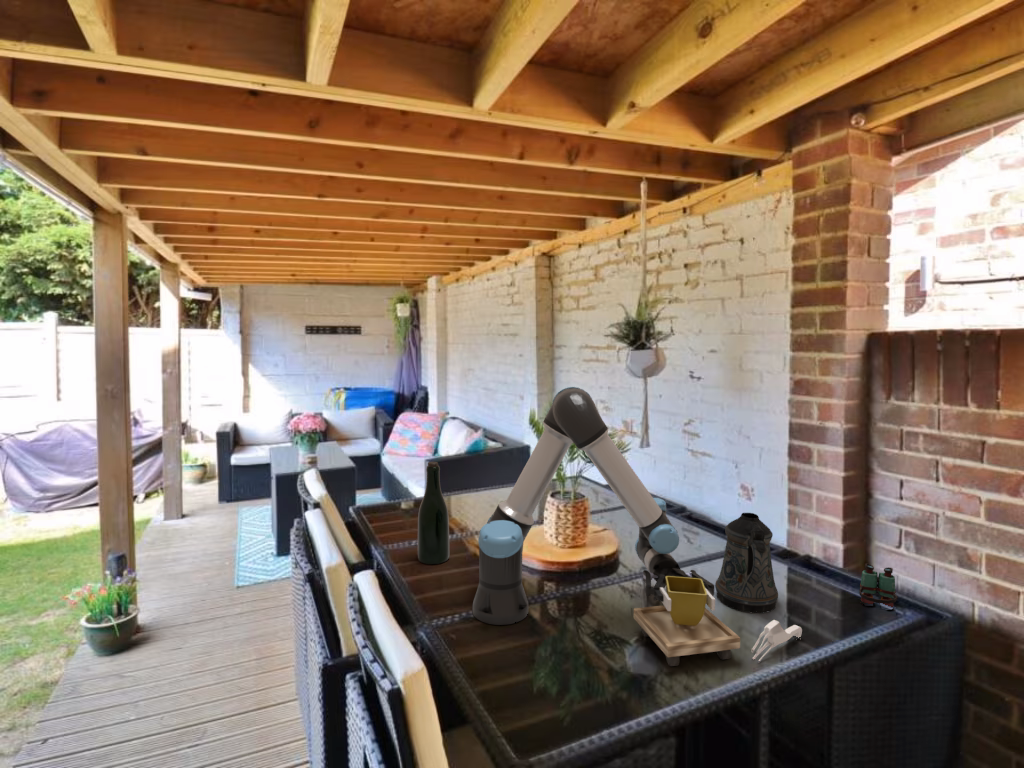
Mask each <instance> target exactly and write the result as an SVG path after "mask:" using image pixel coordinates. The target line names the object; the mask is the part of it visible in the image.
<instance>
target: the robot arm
mask: <svg viewBox="0 0 1024 768" xmlns="http://www.w3.org/2000/svg"><path fill="white" fill-rule="evenodd" d="M542 425H543V428H544V431H543V432H542V434H541V436H540V438H539V440H538V441H537V443H536V445H535V447H534V449H533V450H532V452H531V454H530V456H529V458H528V460H527V462H526V464H525V466H524V467H523V469H522V471H521V473H520V474H519V476H518V478H517V481H516V482H515V484H514V486H513V488H512V489H511V491H510V493H509V495H508V497H507V498H506V500H503V501H500V502H499V503H498V504H497V506H496V508H495V510H494V512H493V514H491V516H490V517H489V518H488V519H487V522H486V523H484V525H483V526H482V527H481V528H480V531H479V535H478V547H479V549H478V550H479V551H478V557H479V559H478V563H479V565H478V566H479V567H478V570H479V571H478V575H479V576H478V578H479V581H478V586H477V589H476V593H475V595H474V598H473V602H472V614H473V616H474V618H475V619H477V620H478V621H480V622H482V623H484V624H489V625H494V626H495V625H496V626H500V625H501V626H503V625H504V626H505V625H513V624H515V622H516V623H518V622H521V621H523V620H524V619H525V618H526V617H527V616H528V615H527V614H529V601H528V598H527V595H526V591H525V589H524V584H523V553H524V552H523V549H524V541H525V540H526V538H527V536H528V534H529V532H530V531H531V528H532V527H533V525H534V522H535V521H534V517H533V515H534V512H535V510H536V509H537V507H538V505H539V503H540V502H541V499H542V498H543V496H544V495H545V492H546V491H547V488H548V487H549V485H550V483H551V481H552V480H553V478H554V476H555V474H556V472H557V470H558V468H559V467H560V465H561V463H562V461H563V459H564V457H565V455H566V454H567V452H568V450H569V448H570V447H571V445H573V444H574V445H575V446H576V449H578V450H579V451H584V453H585V454H586V455H587V457H588V458H589V459H590V460H591V462H592V463H593V464H594V466H595V468H596V469H597V470H598V473H600V475H601V476H602V477H603V480H605V482H606V483H607V485H608V486H609V487H610V488H611V490H612V492H613V493H614V495H615V496H616V497H617V498H618V499H619V501H620V503H621V504H622V505H623V507H624V508H625V509H626V511H627V513H628V514H629V515H630V516H631V518H632V519H633V520H634V522H635V523H636V525H637V526H638V538H637V539H636V541H635V543H634V549H635V551H636V554H637V557H638V559H640V561H641V562H642V563H643V565H644V566H645V567H646V569H647V570H645V569H644V570H643V575H642V581H643V582H644V583H645V596H646V597H651V596H653V600H654V601H658V602H661V603H662V604H663V605H664V606H665V608H666V609H667V611H671V599H670V598H669V596H668V594H667V593H666V589H665V588H666V578H665V577H666V576H675V577H687V578H699V579H702V581H703V584H704V587H705V589H706V592H707V599H706V606H708V608H709V609H710V611H716V598H715V597H714V596H715V584H714V583H712V582H710V581H709V580H707V579H706V578H704V577H703V576H701V575H700V574H698V573H697V572H696V570H695V569H690V571H689V572H685V571H684V570H682V569H681V567H680V565H679V563H678V562H677V561H676V559H674V557H673V556H672V555H671V553H673V552H674V551H675V550H676V549H677V548H678V546H679V544H680V536H679V534H678V531H677V529H676V527H674V525H673V524H672V522H671V521H670V519H669V518H668V516H667V511H668V509H667V503H666V500H664V499H662V498H659V497H653V496H652V494H651V493H650V492H649V490H648V488H647V487H646V486H645V484H643V482H642V481H641V479H640V477H639V476H638V475H637V474H636V472H635V471H634V469H633V468H632V466H631V465H630V463H629V462H628V461H627V459H626V458H625V457H624V454H622V452H621V451H620V449H619V448H618V447H617V444H615V443H614V441H613V440H612V438H611V437H610V436H609V427H608V426H607V425H606V424H605V422H604V420H603V418H602V417H601V415H600V412H599V411H598V408H597V406H596V403H595V402H594V400H593V397H592V396H591V395H590V394H589V393H588V392H587V391H585V390H584V389H583V388H580V387H577V386H576V387H575V386H570V387H568V386H567V387H565V388H563V389H561V390H560V391H558V392H557V393H556V395H555V396H554V398H553V400H552V404H551V406H550V408H549V409H548V411H547V413H546V416H545V417H544V419H543V421H542ZM652 580H654V581H655V584H654V585H653V586H652Z"/></svg>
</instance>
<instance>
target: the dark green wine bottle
mask: <svg viewBox="0 0 1024 768" xmlns="http://www.w3.org/2000/svg"><path fill="white" fill-rule="evenodd" d="M425 470H426V483H425V484H426V486H425V490H424V493H423V497H422V500H421V503H420V504H419V505H420V506H419V509H418V517H417V559H418V561H419V562H421V563H423V564H426V565H439V564H442V563H445V562H446V561H448V559H449V558H450V524H449V523H450V522H449V521H450V520H449V519H450V518H449V511H448V510H449V509H448V507H447V502H446V501H445V498H444V496H443V492H442V489H441V482H440V481H441V480H440V476H441V475H440V470H441V468H440V465H439V462H438V461H429V462H428V463H427V466H426V469H425Z"/></svg>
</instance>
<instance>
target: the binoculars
mask: <svg viewBox="0 0 1024 768" xmlns="http://www.w3.org/2000/svg"><path fill="white" fill-rule="evenodd" d="M864 564H865V565H864V566H865V567H864V568H865V570H863V571H862V572H861V580H860V583H859V596H860V600H861V601H862V602H864V603H868V604H873V603H874V604H875V603H876V604H880V603H883V604H885V605H888V606H891V607H893V606H894V604H895V602H897V600H898V599H899V597H898V595H896V593H897V591H896V577H895V575H894V574H893V571H894V569H893V567H884V568H883V572H880V571H879V572H877V571H874V569H875V567H874V566H873V565H871V564H870V563H864ZM892 574H893V575H892ZM877 593H878V595H880V596H881V597H880V599H878V598H875V597H874V596H873V595H875V594H877ZM894 607H895V606H894Z"/></svg>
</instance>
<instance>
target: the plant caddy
mask: <svg viewBox="0 0 1024 768" xmlns="http://www.w3.org/2000/svg"><path fill="white" fill-rule="evenodd" d="M633 619H634V620H635V622H636V623H637V624H638V625H639V626H640V629H641V634H642V635H643V636H644V637H649V638H650V639H651V640H652V641H653V642H654V643H655V644H656V646H657V647H658V648H659V649H660V650H661V651H662V652H663V654H664V655H665V659H666V660H665V661H666V662H667V665H668V666H669V667H675V666H679V665H680V657H681V656H690V655H697V654H699V655H700V654H708V653H713V652H716V654H717V656H718V658H719V659H720V660H729V659H731V658H732V650H736V649H740V648H741V637H740V636H739V635H738V634H737V633H736V632H734V630H732V629H731V628H730V627H728V625H727V624H725V623H723V621H721V620H720V618H718V617H717V616H716V615H714V614H713V613H712V612H711V610H708V608H706V607H705V611H704V615H703V617H702V619H701V621H700V622H699V623H698V624H697V625H696V626H691V625H681V624H675V623H674V622H673V620H672V618H671V615H670V611H667V609H666V608H665V606H664V604H663V605H653V606H644V607H634V608H633Z"/></svg>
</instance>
